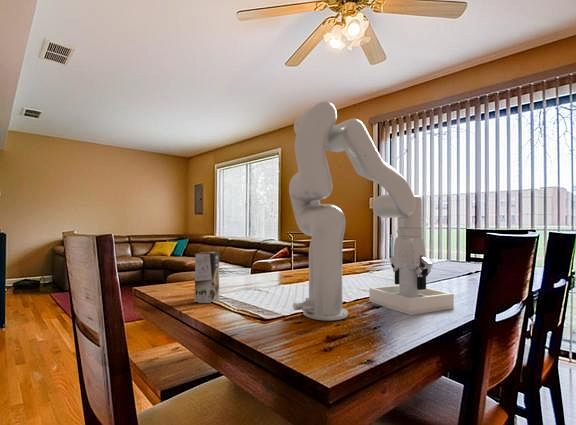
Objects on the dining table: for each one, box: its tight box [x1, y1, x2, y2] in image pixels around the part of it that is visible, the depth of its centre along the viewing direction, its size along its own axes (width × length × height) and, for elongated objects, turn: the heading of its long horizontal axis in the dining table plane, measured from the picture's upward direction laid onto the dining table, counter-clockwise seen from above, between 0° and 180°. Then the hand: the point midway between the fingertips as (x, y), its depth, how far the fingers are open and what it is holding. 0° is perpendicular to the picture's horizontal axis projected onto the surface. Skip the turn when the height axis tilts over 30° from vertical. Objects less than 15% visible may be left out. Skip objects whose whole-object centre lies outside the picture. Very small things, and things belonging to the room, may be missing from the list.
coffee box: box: [193, 251, 220, 304], centre depth 114 cm, size 9×6×16 cm
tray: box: [368, 284, 455, 316], centre depth 108 cm, size 18×18×4 cm
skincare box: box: [398, 265, 419, 298], centre depth 108 cm, size 6×4×12 cm
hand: (409, 286), depth 108 cm, fingers open, 9 cm apart
